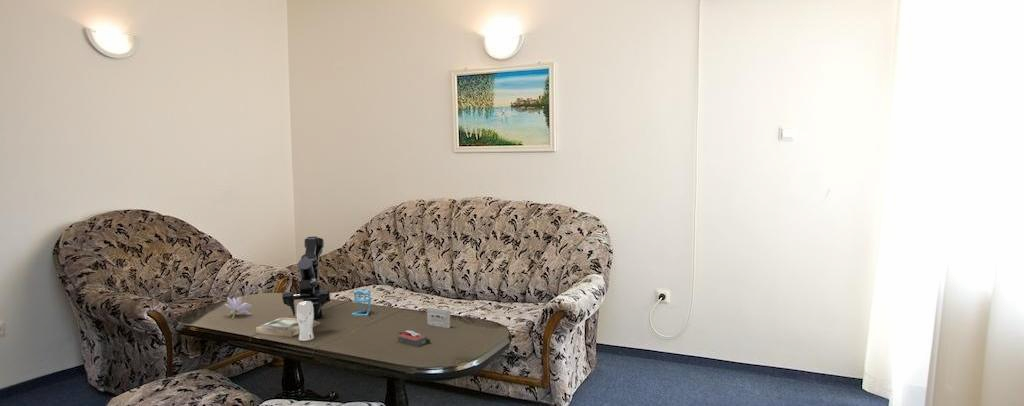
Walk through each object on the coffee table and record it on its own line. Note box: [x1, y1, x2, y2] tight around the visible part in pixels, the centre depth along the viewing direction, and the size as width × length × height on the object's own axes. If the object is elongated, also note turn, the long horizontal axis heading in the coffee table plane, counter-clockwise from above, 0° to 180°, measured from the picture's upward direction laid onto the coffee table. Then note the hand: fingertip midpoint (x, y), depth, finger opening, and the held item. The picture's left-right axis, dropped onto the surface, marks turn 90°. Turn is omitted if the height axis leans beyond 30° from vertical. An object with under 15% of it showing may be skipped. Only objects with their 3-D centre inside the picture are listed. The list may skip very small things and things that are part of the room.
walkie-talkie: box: [397, 329, 431, 348], centre depth 238 cm, size 9×4×20 cm
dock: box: [255, 317, 320, 338], centre depth 256 cm, size 18×18×4 cm
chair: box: [351, 289, 373, 317], centre depth 278 cm, size 8×8×12 cm
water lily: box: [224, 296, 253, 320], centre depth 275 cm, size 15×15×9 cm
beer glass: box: [295, 300, 315, 342], centre depth 241 cm, size 7×7×15 cm
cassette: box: [426, 306, 451, 329], centre depth 257 cm, size 12×2×8 cm, turn 59°
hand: (305, 314), depth 243 cm, fingers open, 9 cm apart
